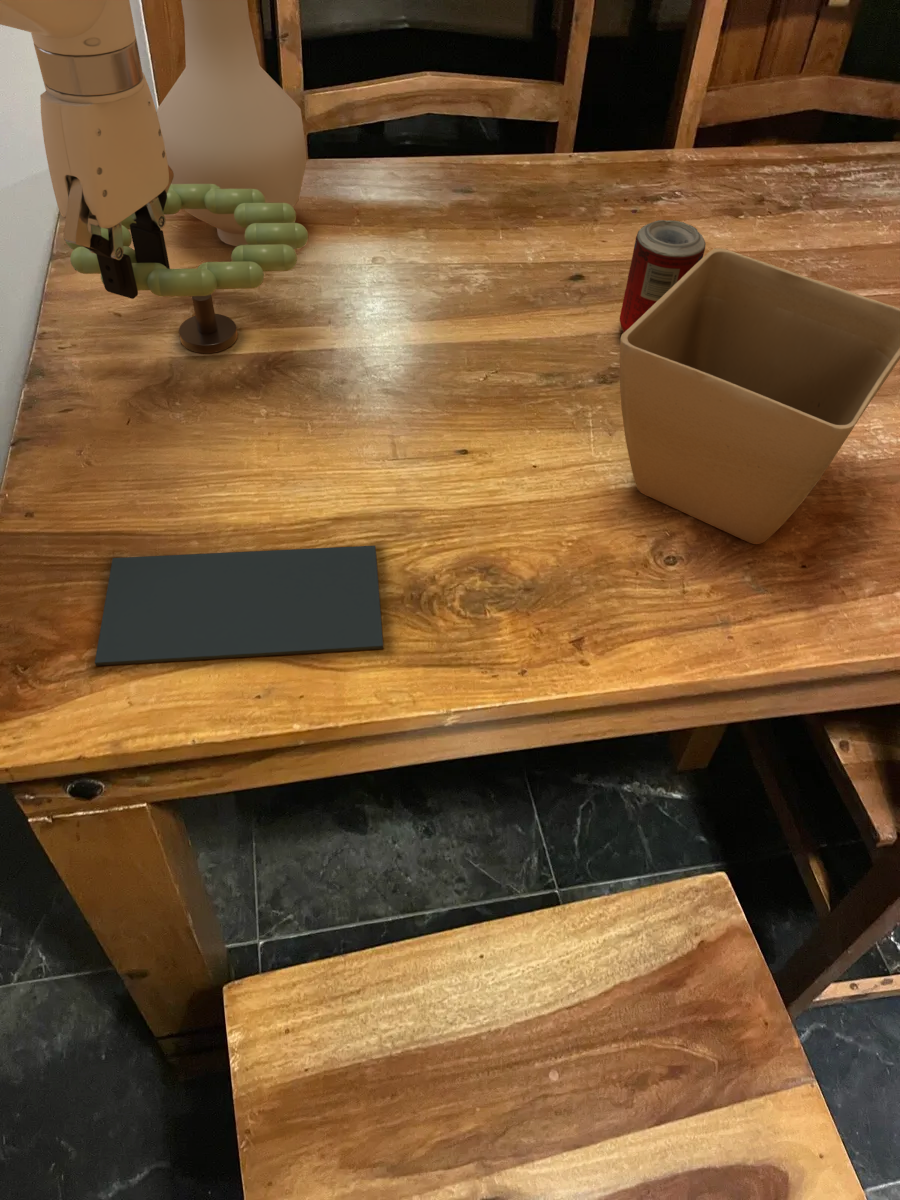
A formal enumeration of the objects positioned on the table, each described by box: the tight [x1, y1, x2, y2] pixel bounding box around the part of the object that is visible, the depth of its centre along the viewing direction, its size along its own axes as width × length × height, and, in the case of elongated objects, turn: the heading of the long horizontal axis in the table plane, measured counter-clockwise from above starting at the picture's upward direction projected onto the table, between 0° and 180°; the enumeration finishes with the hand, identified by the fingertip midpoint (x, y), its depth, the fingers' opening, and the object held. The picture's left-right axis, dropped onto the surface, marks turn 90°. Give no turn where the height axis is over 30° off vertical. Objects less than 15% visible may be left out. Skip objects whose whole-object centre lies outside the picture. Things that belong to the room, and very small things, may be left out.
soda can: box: [619, 219, 707, 334], centre depth 99 cm, size 7×7×12 cm
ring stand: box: [178, 293, 238, 354], centre depth 98 cm, size 6×6×5 cm
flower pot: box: [619, 247, 900, 545], centre depth 82 cm, size 19×19×17 cm
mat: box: [94, 545, 384, 667], centre depth 76 cm, size 22×11×1 cm, turn 96°
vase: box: [156, 0, 307, 247], centre depth 104 cm, size 17×16×28 cm
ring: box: [64, 184, 309, 298], centre depth 91 cm, size 23×19×2 cm
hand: (138, 279), depth 86 cm, fingers closed on ring, 4 cm apart
